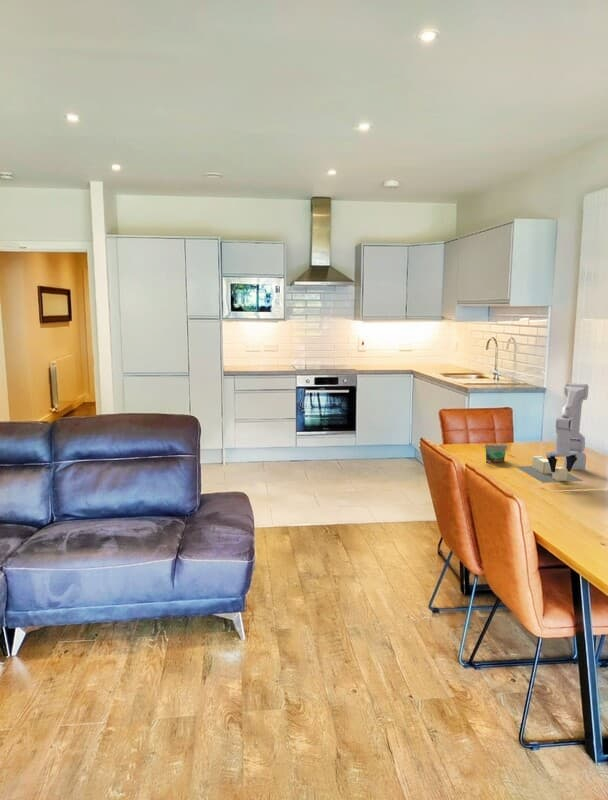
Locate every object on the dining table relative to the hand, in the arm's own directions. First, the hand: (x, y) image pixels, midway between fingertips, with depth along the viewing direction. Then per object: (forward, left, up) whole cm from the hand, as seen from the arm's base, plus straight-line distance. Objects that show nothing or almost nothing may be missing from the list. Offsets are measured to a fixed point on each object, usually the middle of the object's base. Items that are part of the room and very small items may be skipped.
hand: (560, 471), depth 255 cm
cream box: (0, -16, -4) cm, 16 cm away
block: (0, 0, -4) cm, 4 cm away
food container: (+15, -32, -5) cm, 36 cm away
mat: (0, -10, -5) cm, 11 cm away
